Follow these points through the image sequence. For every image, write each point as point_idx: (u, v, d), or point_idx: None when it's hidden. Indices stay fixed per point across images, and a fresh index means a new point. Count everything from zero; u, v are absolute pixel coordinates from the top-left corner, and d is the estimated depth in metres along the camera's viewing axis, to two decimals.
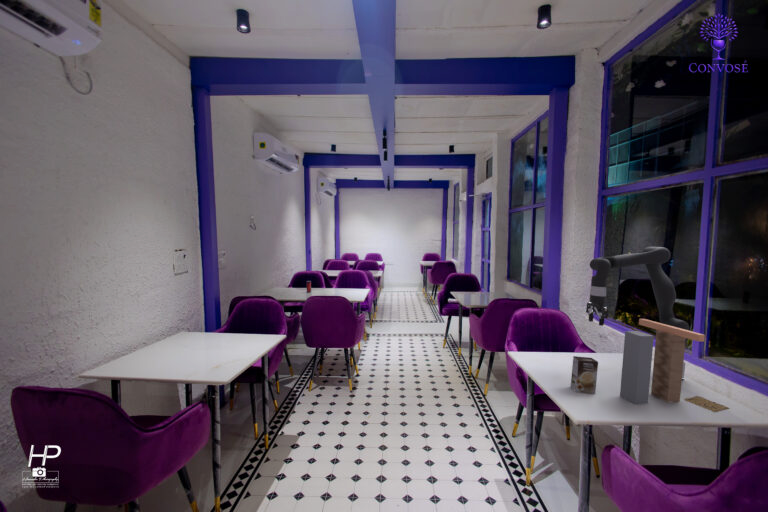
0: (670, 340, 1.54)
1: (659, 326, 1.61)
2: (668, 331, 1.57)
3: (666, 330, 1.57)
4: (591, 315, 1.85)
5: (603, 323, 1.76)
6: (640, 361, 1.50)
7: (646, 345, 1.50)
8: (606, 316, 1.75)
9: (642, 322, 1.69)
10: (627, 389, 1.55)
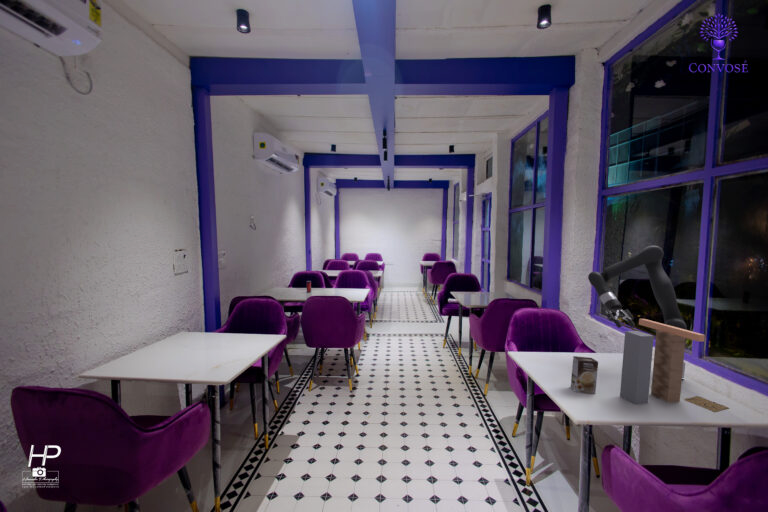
0: (670, 340, 1.54)
1: (659, 326, 1.61)
2: (668, 331, 1.57)
3: (666, 330, 1.57)
4: None
5: None
6: (640, 361, 1.50)
7: (646, 345, 1.50)
8: None
9: (642, 322, 1.69)
10: (627, 389, 1.55)
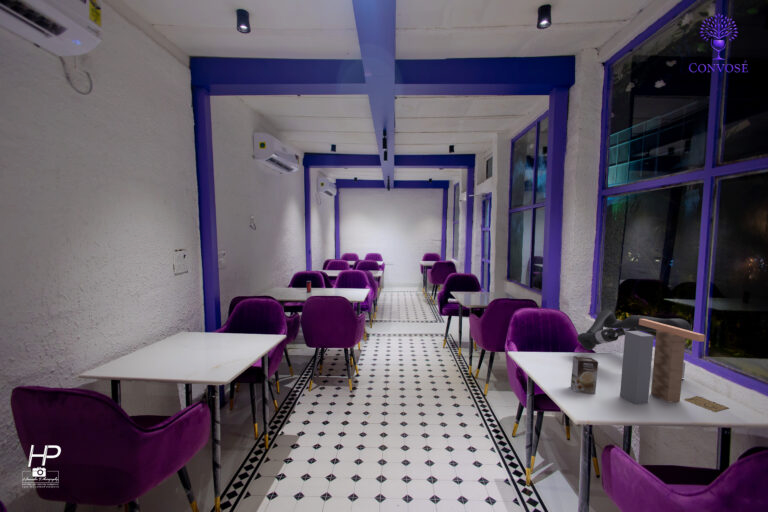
0: (670, 340, 1.54)
1: (659, 326, 1.61)
2: (668, 331, 1.57)
3: (666, 330, 1.57)
4: None
5: (635, 330, 1.80)
6: (640, 361, 1.50)
7: (646, 345, 1.50)
8: None
9: (642, 322, 1.69)
10: (627, 389, 1.55)
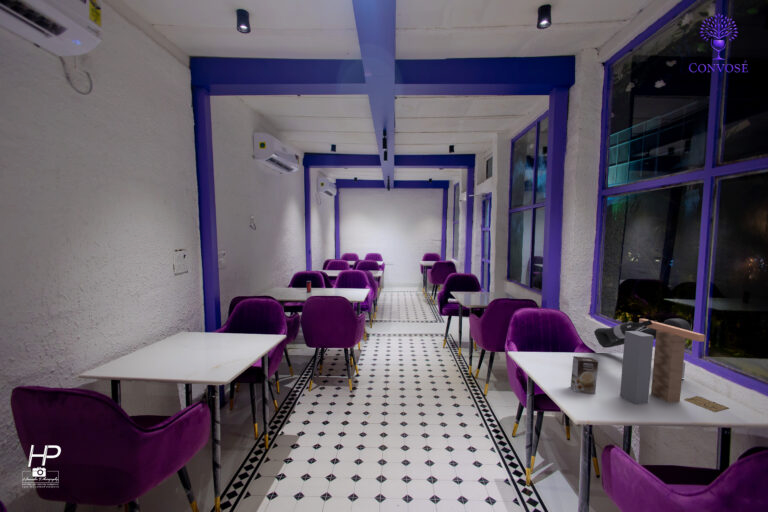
0: (670, 340, 1.54)
1: (659, 326, 1.61)
2: (668, 331, 1.57)
3: (666, 330, 1.57)
4: None
5: None
6: (640, 361, 1.50)
7: (646, 345, 1.50)
8: None
9: None
10: (627, 389, 1.55)
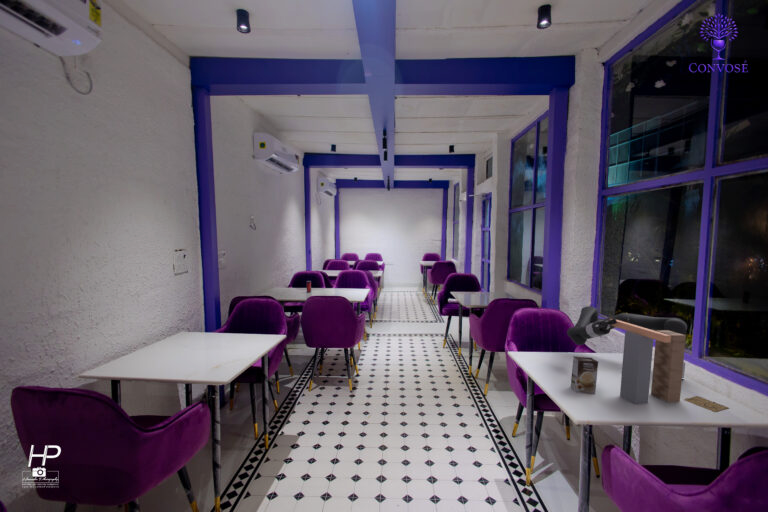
0: None
1: (628, 326, 1.57)
2: (636, 332, 1.53)
3: (634, 331, 1.54)
4: None
5: None
6: (640, 361, 1.50)
7: (646, 345, 1.50)
8: None
9: None
10: (627, 389, 1.55)
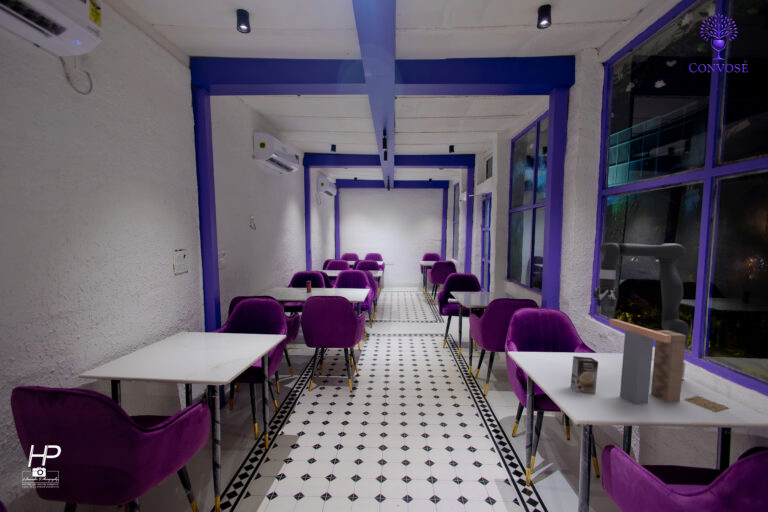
0: None
1: (628, 326, 1.57)
2: (636, 332, 1.53)
3: (634, 331, 1.54)
4: None
5: None
6: (640, 361, 1.50)
7: (646, 345, 1.50)
8: (614, 295, 1.89)
9: (612, 322, 1.66)
10: (627, 389, 1.55)
